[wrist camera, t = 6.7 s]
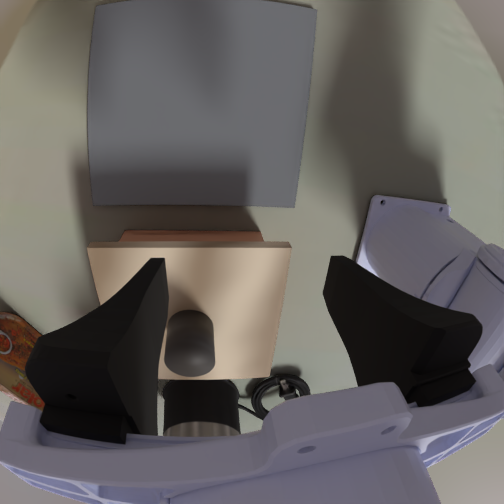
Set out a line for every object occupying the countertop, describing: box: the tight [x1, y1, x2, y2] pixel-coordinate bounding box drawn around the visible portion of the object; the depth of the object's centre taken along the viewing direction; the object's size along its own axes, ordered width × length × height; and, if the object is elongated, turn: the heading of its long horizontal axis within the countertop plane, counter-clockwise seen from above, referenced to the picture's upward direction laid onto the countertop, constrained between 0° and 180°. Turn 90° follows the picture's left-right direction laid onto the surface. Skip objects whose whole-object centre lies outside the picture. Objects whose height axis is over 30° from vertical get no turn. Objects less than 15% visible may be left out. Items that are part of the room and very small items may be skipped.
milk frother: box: [163, 375, 310, 437], centre depth 27 cm, size 14×16×15 cm
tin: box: [0, 312, 45, 412], centre depth 23 cm, size 15×3×8 cm, turn 35°
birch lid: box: [87, 241, 292, 380], centre depth 19 cm, size 12×12×4 cm
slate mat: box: [88, 0, 317, 208], centre depth 18 cm, size 15×15×1 cm
